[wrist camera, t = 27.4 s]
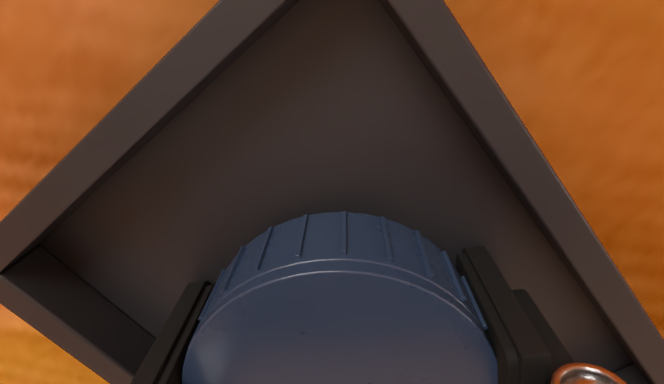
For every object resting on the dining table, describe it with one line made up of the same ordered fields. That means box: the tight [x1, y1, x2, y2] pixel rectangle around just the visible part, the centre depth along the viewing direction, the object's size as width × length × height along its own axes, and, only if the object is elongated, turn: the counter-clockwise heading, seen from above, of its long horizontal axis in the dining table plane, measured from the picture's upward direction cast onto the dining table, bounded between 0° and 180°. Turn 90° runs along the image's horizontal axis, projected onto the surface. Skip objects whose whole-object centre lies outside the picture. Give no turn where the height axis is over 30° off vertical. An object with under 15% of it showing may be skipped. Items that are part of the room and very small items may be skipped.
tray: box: [0, 0, 664, 384], centre depth 11 cm, size 16×13×2 cm
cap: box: [182, 211, 498, 384], centre depth 10 cm, size 7×7×2 cm
